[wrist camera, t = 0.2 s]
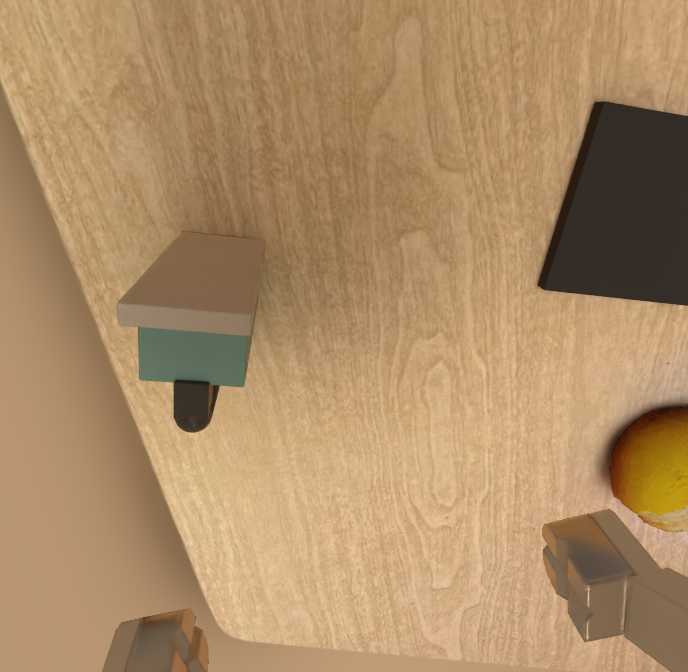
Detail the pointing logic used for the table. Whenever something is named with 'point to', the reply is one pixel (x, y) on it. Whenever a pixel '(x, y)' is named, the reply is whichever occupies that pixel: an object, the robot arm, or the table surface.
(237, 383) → the iron
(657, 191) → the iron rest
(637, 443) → the fruit
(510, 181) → the table surface
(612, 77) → the table surface
